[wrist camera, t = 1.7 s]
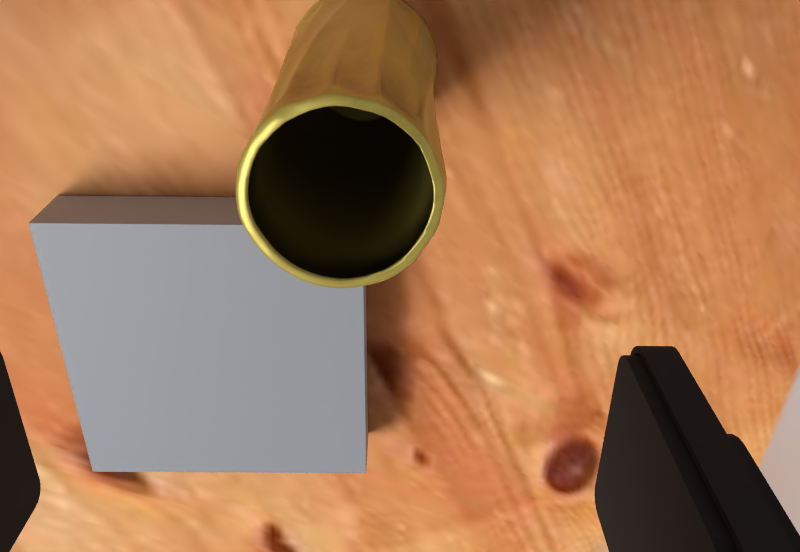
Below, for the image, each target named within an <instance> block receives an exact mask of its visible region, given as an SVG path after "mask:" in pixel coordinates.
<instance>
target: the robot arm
mask: <svg viewBox="0 0 800 552" xmlns="http://www.w3.org/2000/svg"><path fill="white" fill-rule="evenodd" d="M39 496H40V480H39V476H38V473H37V469H36V466H35V463H34V459H33V456H32V453H31V449H30V446H29V443H28V439H27V436H26V433H25V429H24V426H23V423H22V419H21V416H20V413H19V409H18V406H17V403H16V399H15V396H14V393H13V389H12V386H11V383H10V379H9V376H8V372H7V369H6V366H5V362H4V359H3V356H2V354H1V352H0V552H9V551H10V550H11V548H12V546H13V545H14V543H15V541H16V539H17V538H18V536H19V534H20V533H21V531H22V529H23V527H24V526H25V524H26V522H27V521H28V519H29V517H30V516H31V514H32V512H33V510H34V509H35V507H36V505H37V503H38V500H39ZM595 504H596V510H597V514H598V517H599V520H600V523H601V527H602V530H603V533H604V536H605V540H606V543H607V546H608V549H609V552H800V536H799V534H798V532H797V531H796V529H795V527H794V526H793V524H792V522H791V521H790V519H789V517H788V516H787V514H786V512H785V511H784V509H783V507H782V506H781V504H780V503H779V501H778V499H777V498H776V496H775V495H774V493H773V491H772V489H771V488H770V486H769V484H768V483H767V481H766V479H765V478H764V476H763V475H762V473H761V471H760V470H759V468H758V466H757V465H756V463H755V461H754V460H753V458H752V456H751V455H750V453H749V451H748V450H747V448H746V447H745V445H744V444H743V442H742V441H741V440H740V439H739V437H737V436H735V435H733V434H726V432H725V430H724V429H723V427H722V425H721V423H720V422H719V420H718V418H717V417H716V415H715V413H714V411H713V410H712V408H711V406H710V405H709V403H708V401H707V400H706V398H705V396H704V394H703V393H702V391H701V389H700V388H699V386H698V384H697V383H696V381H695V379H694V377H693V376H692V374H691V372H690V371H689V369H688V367H687V365H686V364H685V362H684V360H683V359H682V357H681V355H680V354H679V352H678V350H677V349H676V348H675V347H672V346H636V347H634V348H633V350H632V352H631V355H623V356H621V357H620V359H619V362H618V367H617V372H616V378H615V383H614V388H613V394H612V399H611V404H610V410H609V415H608V421H607V426H606V431H605V437H604V442H603V447H602V453H601V458H600V463H599V469H598V474H597V479H596V485H595Z"/></svg>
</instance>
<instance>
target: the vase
mask: <svg viewBox="0 0 800 552" xmlns="http://www.w3.org/2000/svg"><path fill="white" fill-rule="evenodd" d="M436 70H437V54H436V50H435V46H434V42H433V40H432V37H431V34H430V32H429V30H428V28H427V26H426V24H425V23H424V21H423V20H422V18H421V17H420V16H419V15H418V14H417V13H416V12H415V11H414V10H413V9H412V8H411V7H409V6H408V5H407V4H405V3H404V2H403V1H402V0H320V1H318V2H317V3H316V4H315V5H314V6H313V7H312V8H311V9H310V10H309V11H308V12H307V13H306V14H305V16H304V17H303V19H302V20H301V22H300V23H299V24H298V26H297V27H296V30H295V33H294V35H293V39H292V43H291V46H290V47H289V50H288V52H287V54H286V57H285V60H284V62H283V65H282V68H281V70H280V73H279V76H278V79H277V81H276V84H275V86H274V89H273V91H272V94H271V97H270V99H269V101H268V104H267V106H266V108H265V110H264V113H263V115H262V117H261V119H260V122H259V124H258V126H257V129H256V131H255V133H254V134H253V136H252V137H251V139H250V140H249V142H248V144H247V146H246V147H245V149H244V151H243V153H242V155H241V158H240V161H239V163H238V169H237V175H236V203H237V209H238V213H239V217H240V220H241V222H242V224H243V226H244V228H245V229H246V231H247V233H248V234H249V236H250V238H251V239H252V241H253V242H254V244H255V245H256V246H257V247H258V249H259V250H260V251H261V252H262V253H263V254H264V255H265V256H266V257H267V258H268V259H269V260H271V261H272V262H273V263H274V264H275V265H277V266H278V267H280V268H281V269H283V270H284V271H286V272H287V273H289V274H291V275H292V276H294V277H296V278H298V279H300V280H302V281H305V282H307V283H310V284H314V285H318V286H323V287H329V288H354V287H360V286H366V285H371V284H375V283H379V282H382V281H385V280H387V279H390V278H391V277H393V276H395V275H397V274H398V273H400V272H401V271H403V270H404V269H405V268H407V267H408V266H409V265H410V264H411V263H413V262H414V261H415V260H416V258H417V257H418V256H419V254H420V253H421V252H422V251H423V249H424V248H425V247H426V245H427V244H428V243H429V241H430V240H431V238H432V237H433V235H434V234H435V232H436V230H437V227H438V225H439V222H440V218H441V213H442V209H443V205H444V198H445V193H446V181H447V178H446V171H445V165H444V159H443V155H442V150H441V144H440V137H439V131H438V127H437V121H436V114H435V102H434V95H433V87H434V84H435V78H436Z"/></svg>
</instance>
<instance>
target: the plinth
mask: <svg viewBox="0 0 800 552" xmlns="http://www.w3.org/2000/svg"><path fill="white" fill-rule="evenodd" d="M29 227H30V230H31V234H32V238H33V242H34V246H35V250H36V254H37V257H38V261H39V265H40V269H41V273H42V277H43V281H44V284H45V288H46V292H47V296H48V300H49V304H50V308H51V311H52V315H53V319H54V323H55V327H56V331H57V335H58V338H59V342H60V346H61V350H62V354H63V358H64V362H65V366H66V369H67V373H68V377H69V381H70V385H71V389H72V393H73V396H74V400H75V404H76V408H77V412H78V416H79V420H80V423H81V427H82V431H83V435H84V439H85V443H86V447H87V450H88V454H89V458H90V462H91V466H92V470H93V471H99V472H272V473H366V465H367V446H368V386H367V308H366V286H360V287H354V288H329V287H323V286H318V285H314V284H310V283H307V282H305V281H302V280H300V279H298V278H296V277H294V276H292V275H291V274H289V273H287V272H286V271H284V270H283V269H281V268H280V267H278V266H277V265H275V264H274V263H273V262H272V261H271V260H269V259H268V258H267V257H266V256H265V255H264V254H263V253H262V252H261V251H260V250H259V249H258V247H257V246H256V245H255V244H254V242H253V241H252V239H251V238H250V236H249V234H248V233H247V231H246V229H245V228H244V226H243V224H242V222H241V220H240V217H239V213H238V209H237V203H236V197H185V196H74V195H58V196H56V197H55V198H54V199H53V200H52V201H51V202H50V203H49V204H48V205H47V206H46V207H45V208H44V209H43V210H42V211H41V212H40V213H39V214H38V215H37V216H36V217H35V218H34V219H32V220H31V221H30V222H29Z"/></svg>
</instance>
